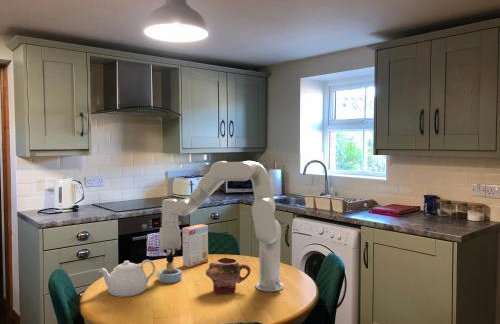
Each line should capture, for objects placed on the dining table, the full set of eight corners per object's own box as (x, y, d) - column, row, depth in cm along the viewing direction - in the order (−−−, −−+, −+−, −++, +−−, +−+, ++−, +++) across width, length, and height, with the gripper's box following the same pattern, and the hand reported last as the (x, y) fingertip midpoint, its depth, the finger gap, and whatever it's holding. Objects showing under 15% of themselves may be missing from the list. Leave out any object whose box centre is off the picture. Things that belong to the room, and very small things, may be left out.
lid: (178, 279, 203) (178, 264, 202) (165, 281, 200) (165, 266, 200) (174, 275, 209) (174, 261, 208) (161, 277, 206) (161, 262, 205)
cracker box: (200, 260, 238) (200, 223, 238) (208, 262, 235) (208, 224, 234) (182, 265, 228) (181, 227, 227) (189, 268, 224) (189, 228, 223)
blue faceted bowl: (184, 281, 202) (184, 273, 202) (162, 284, 197) (162, 276, 197) (177, 275, 211) (177, 267, 211) (156, 278, 207) (156, 270, 206)
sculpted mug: (247, 285, 198) (247, 255, 197) (253, 294, 186) (253, 262, 185) (204, 287, 194) (204, 257, 193) (207, 297, 182) (207, 265, 181)
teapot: (137, 300, 178) (137, 268, 178) (98, 296, 182) (97, 265, 181) (156, 285, 197) (156, 256, 196) (119, 282, 200) (119, 254, 200)
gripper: (182, 222, 210) (182, 258, 211) (152, 224, 203) (152, 262, 204) (187, 224, 203) (187, 262, 204) (156, 227, 196) (156, 266, 197)
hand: (170, 262), depth 204 cm, fingers closed
